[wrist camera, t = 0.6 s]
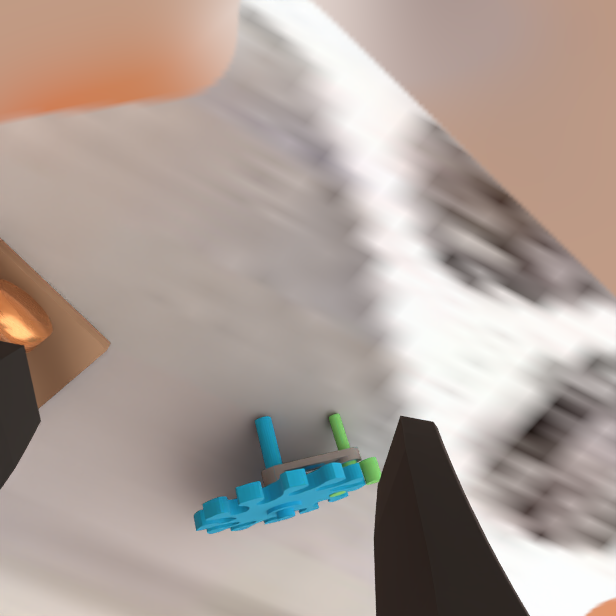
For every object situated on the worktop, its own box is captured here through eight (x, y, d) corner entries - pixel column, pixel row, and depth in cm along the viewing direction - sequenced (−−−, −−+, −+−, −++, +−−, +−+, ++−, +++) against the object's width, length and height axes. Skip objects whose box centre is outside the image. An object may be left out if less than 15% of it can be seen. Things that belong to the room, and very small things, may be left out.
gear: (197, 553, 33) (198, 525, 25) (182, 459, 36) (178, 406, 28) (361, 508, 36) (411, 470, 28) (336, 425, 39) (374, 368, 31)
